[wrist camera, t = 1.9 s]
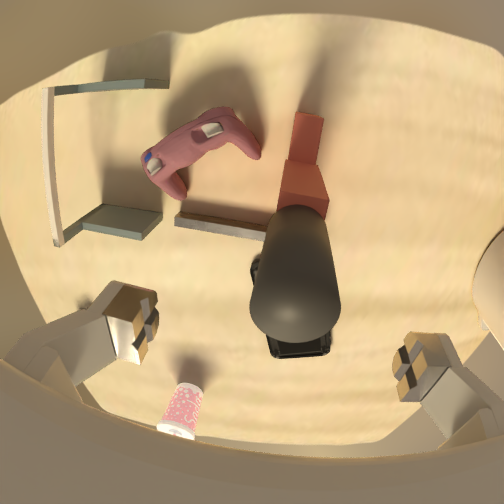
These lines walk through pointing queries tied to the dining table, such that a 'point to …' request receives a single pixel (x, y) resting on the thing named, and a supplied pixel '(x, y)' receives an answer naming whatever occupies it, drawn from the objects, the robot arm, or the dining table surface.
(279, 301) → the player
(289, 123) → the dining table surface
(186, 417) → the beverage cup
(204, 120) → the video game controller
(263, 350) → the dining table surface
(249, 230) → the rail
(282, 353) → the phone
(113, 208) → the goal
